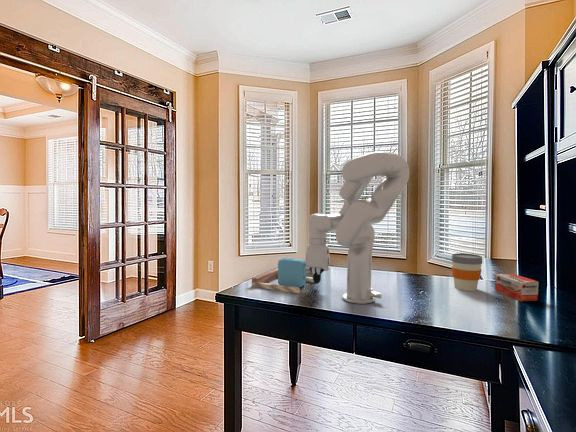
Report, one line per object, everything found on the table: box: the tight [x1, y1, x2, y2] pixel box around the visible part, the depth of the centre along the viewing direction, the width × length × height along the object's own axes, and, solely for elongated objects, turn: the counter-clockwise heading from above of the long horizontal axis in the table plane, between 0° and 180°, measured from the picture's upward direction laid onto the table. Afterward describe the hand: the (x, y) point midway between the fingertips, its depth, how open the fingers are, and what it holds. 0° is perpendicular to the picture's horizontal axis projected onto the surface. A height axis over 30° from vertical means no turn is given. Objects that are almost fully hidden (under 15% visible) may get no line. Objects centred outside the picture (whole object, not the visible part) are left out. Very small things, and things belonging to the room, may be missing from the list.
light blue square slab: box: [277, 257, 307, 288], centre depth 164 cm, size 12×4×12 cm, turn 71°
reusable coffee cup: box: [451, 252, 483, 292], centre depth 162 cm, size 13×13×15 cm
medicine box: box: [494, 273, 539, 302], centre depth 152 cm, size 15×8×8 cm, turn 6°
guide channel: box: [251, 268, 315, 294], centre depth 166 cm, size 23×21×4 cm
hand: (316, 282), depth 159 cm, fingers closed
